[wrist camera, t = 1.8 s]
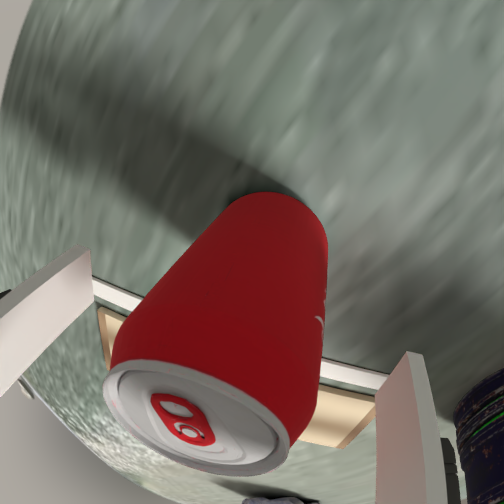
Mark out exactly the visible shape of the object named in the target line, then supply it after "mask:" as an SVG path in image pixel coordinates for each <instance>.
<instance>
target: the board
mask: <svg viewBox="0 0 504 504" xmlns="http://www.w3.org/2000/svg"><path fill="white" fill-rule="evenodd" d="M97 312H98V319H99V326H100V333H101V339H102V345H103V351H104V356H105V361H106V367H107V370H109V371H110V363H111V355H112V349H113V344H114V340H115V337H116V335H117V333H118V330H119V328H120V326H121V325H122V323H123V322H124V321H125V319H126V318H127V317H124V316H122V315H120V314H118V313H115V312H113V311H111V310H109V309H107V308H105V307H102V306H101V307H100V308H99V309H98V310H97ZM375 416H376V410H375V397H372V396H368V395H363V394H358V393H354V392H349V391H345V390H341V389H337V388H332V387H328V386H324V385H320V384H319V388H318V397H317V405H316V409H315V412H314V415H313V417H312V419H311V421H310V423H309V424H308V426H307V428H306V429H305V430H304V432H303V433H302V434H301V435H300V437H299V438H298V439H297V440H302V441H306V442H311V443H315V444H320V445H325V446H330V447H336V448H341V449H344V448H345V447H346V446H347V445H348V444H349V443H350V442H351V441H352V440H353V439H354V438H355V437H356V436H357V435H358V434H359V433H360V432H361V431H362V430H363V429H364V428H365V427H366V426H367V425H368V424H369V423H370V421H371V420H372V419H373V418H374V417H375Z"/></svg>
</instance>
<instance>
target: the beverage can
mask: <svg viewBox="0 0 504 504" xmlns="http://www.w3.org/2000/svg"><path fill="white" fill-rule="evenodd" d="M327 264H328V242H327V237H326V234H325V231H324V228H323V226H322V224H321V222H320V221H319V219H318V218H317V216H316V215H315V214H314V213H313V212H312V211H311V210H310V209H309V208H308V207H307V206H306V205H304V204H303V203H301V202H300V201H298V200H296V199H295V198H292V197H290V196H287V195H284V194H281V193H276V192H257V193H252V194H248V195H245V196H243V197H241V198H239V199H237V200H235V201H234V202H232V203H231V204H230V205H229V206H228V207H227V208H226V209H225V210H224V211H223V212H222V213H221V214H220V215H219V216H218V217H217V218H216V219H215V220H214V221H213V223H212V224H211V225H210V226H209V227H208V228H207V229H206V230H205V231H204V232H203V233H202V234H201V235H200V236H199V237H198V239H197V240H196V241H195V242H194V243H193V244H192V245H191V246H190V247H189V248H188V249H187V250H186V252H185V253H184V254H183V255H182V256H181V257H180V258H179V259H178V260H177V261H176V263H175V264H174V265H173V266H172V267H171V268H170V269H169V270H168V271H167V273H166V274H165V275H164V276H163V277H162V278H161V279H160V280H159V282H158V283H157V284H156V285H155V286H154V287H153V288H152V289H151V291H150V292H149V293H148V294H147V295H146V296H145V297H144V299H143V300H142V301H141V302H140V303H139V304H138V305H137V307H136V308H135V309H134V310H133V311H132V312H131V314H130V315H129V316H128V317H127V318H126V319H125V321H124V322H123V323H122V325H121V326H120V328H119V330H118V333H117V335H116V337H115V340H114V344H113V349H112V355H111V363H110V371H109V373H108V374H107V376H106V377H105V379H104V382H103V396H104V400H105V402H106V404H107V406H108V408H109V410H110V411H111V413H112V414H113V416H114V417H115V418H116V420H117V421H118V422H119V423H120V424H121V425H122V426H123V427H124V428H125V429H126V430H127V431H128V432H129V433H130V434H131V435H132V436H134V437H135V438H136V439H137V440H139V441H140V442H141V443H143V444H144V445H146V446H147V447H149V448H150V449H152V450H154V451H155V452H157V453H159V454H161V455H163V456H165V457H166V458H168V459H170V460H172V461H175V462H177V463H180V464H182V465H185V466H188V467H191V468H194V469H197V470H200V471H204V472H208V473H212V474H217V475H225V476H255V475H261V474H265V473H269V472H271V471H273V470H276V469H277V468H278V467H280V466H281V465H282V464H283V463H284V462H285V460H286V458H287V456H288V453H289V449H290V447H291V446H292V445H293V444H294V443H295V441H296V440H297V439H298V438H299V437H300V435H301V434H302V433H303V432H304V430H305V429H306V428H307V426H308V424H309V423H310V421H311V419H312V417H313V415H314V412H315V409H316V405H317V397H318V388H319V379H320V369H321V359H322V347H323V335H324V321H325V306H326V287H327Z"/></svg>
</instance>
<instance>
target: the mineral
mask: <svg viewBox="0 0 504 504" xmlns="http://www.w3.org/2000/svg"><path fill="white" fill-rule="evenodd" d="M242 504H304V503H303V502H302V501H300V500H299V499H297V498H295V497H286V498H278V499H272V500H268V499H266V498H250V499H245V500H243V502H242ZM309 504H319V503H309Z"/></svg>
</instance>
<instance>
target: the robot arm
mask: <svg viewBox="0 0 504 504" xmlns="http://www.w3.org/2000/svg"><path fill="white" fill-rule="evenodd" d="M93 302H94V294H93V284H92V271H91V255H90V249H89V248H86V247H84V246H81V245H79V244H76V245H75V246H73V247H72V248H70V249H69V250H67V251H66V252H64V253H63V254H62V255H60V256H59V257H57V258H56V259H54V260H53V261H51V262H50V263H49V264H47V265H46V266H44V267H43V268H42V269H40V270H39V271H37V272H36V273H35V274H33V275H32V276H31V277H29V278H28V279H26V280H25V281H24V282H22V283H21V284H20V285H18V286H17V287H16V288H15V289H13V290H11V289H9V290H7V291H4V292H2V293H0V397H1V396H2V395H3V394H4V393H5V392H6V391H7V390H8V389H9V388H10V386H11V385H12V384H13V383H14V382H15V381H16V380H17V379H18V378H19V377H20V375H21V374H22V373H23V372H24V371H25V370H26V369H27V368H28V367H29V366H30V365H31V364H32V363H33V362H34V360H35V359H36V358H37V357H38V356H39V355H40V354H41V353H42V352H43V351H44V350H45V349H46V348H47V347H48V346H49V345H50V344H51V343H52V342H53V341H54V340H55V339H56V338H57V337H58V336H59V335H60V334H61V333H62V332H63V331H64V330H65V329H66V328H67V327H68V326H69V325H70V324H71V323H72V322H73V321H74V320H75V319H76V318H77V317H78V316H79V315H80V314H81V313H82V312H83V311H84V310H85V309H86V308H87V307H88V306H89V305H91V304H92V303H93ZM375 410H376V443H377V471H376V502H375V504H461V500H460V489H459V480H458V476H457V473H458V472H457V465H455V464H456V458H455V452H454V449H453V447H452V445H451V443H450V441H449V439H448V438H440V434H439V428H438V422H437V417H436V411H435V406H434V401H433V397H432V392H431V387H430V383H429V379H428V374H427V370H426V366H425V362H424V358H423V355H421V354H417V353H413V352H409V351H406V353H405V354H404V356H403V357H402V359H401V360H400V361H399V363H398V364H397V366H396V367H395V368H394V370H393V371H392V373H391V374H390V375H389V377H388V378H387V379H386V381H385V382H384V383H383V385H382V386H381V387H380V389H379V390H378V391H377V392H376V394H375Z"/></svg>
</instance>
